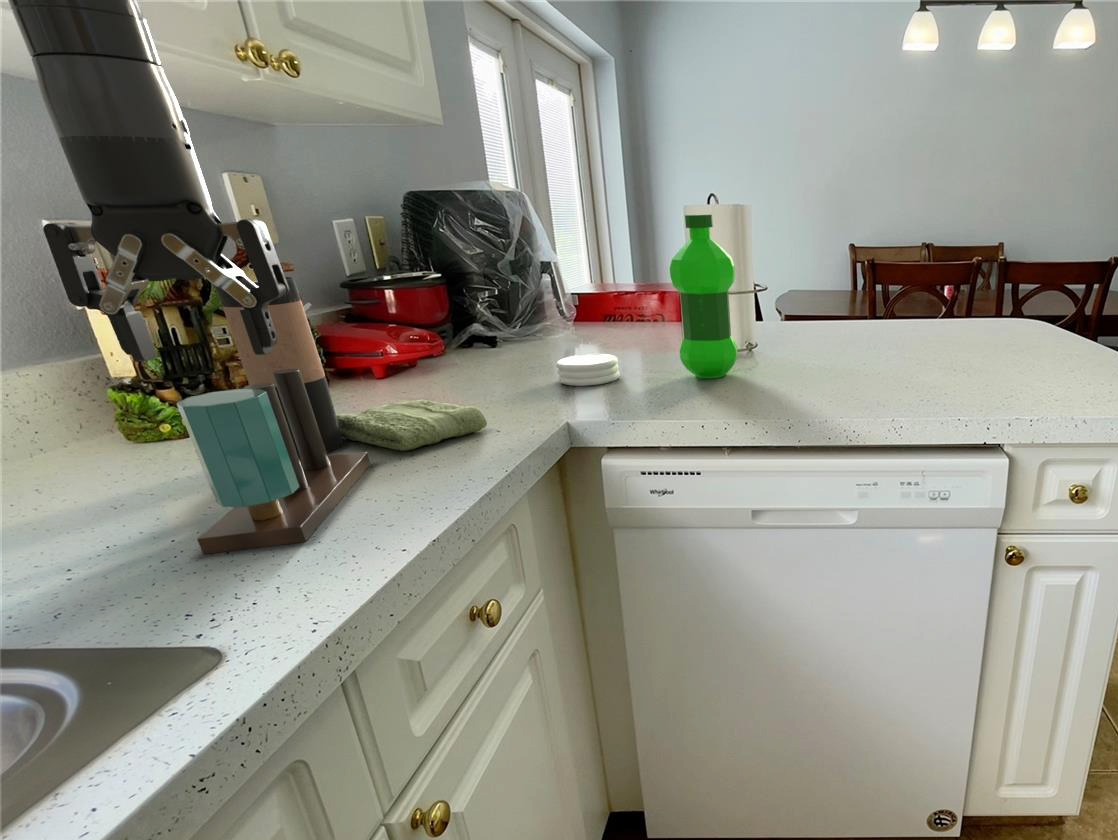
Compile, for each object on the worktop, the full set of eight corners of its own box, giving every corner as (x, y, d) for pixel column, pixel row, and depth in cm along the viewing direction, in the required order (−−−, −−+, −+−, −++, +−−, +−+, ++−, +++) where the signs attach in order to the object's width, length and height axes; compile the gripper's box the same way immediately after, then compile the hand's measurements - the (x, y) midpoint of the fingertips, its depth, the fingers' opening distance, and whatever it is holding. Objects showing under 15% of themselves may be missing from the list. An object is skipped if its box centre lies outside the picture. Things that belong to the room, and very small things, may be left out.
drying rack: (203, 554, 62) (145, 420, 57) (294, 471, 81) (257, 366, 76) (306, 542, 64) (259, 411, 59) (371, 463, 83) (340, 360, 78)
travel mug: (305, 461, 84) (245, 284, 76) (259, 456, 87) (196, 283, 78) (360, 442, 91) (310, 277, 82) (316, 437, 93) (263, 276, 85)
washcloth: (421, 412, 103) (415, 390, 102) (496, 430, 94) (491, 406, 93) (326, 436, 93) (319, 412, 92) (400, 458, 85) (393, 432, 83)
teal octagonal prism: (204, 511, 61) (162, 409, 57) (236, 486, 67) (199, 391, 63) (283, 502, 63) (247, 402, 59) (307, 479, 68) (276, 386, 64)
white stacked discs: (587, 371, 126) (584, 351, 125) (632, 375, 122) (629, 355, 121) (546, 383, 118) (542, 362, 117) (592, 389, 114) (589, 367, 113)
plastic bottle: (695, 367, 127) (682, 214, 116) (750, 370, 124) (742, 213, 113) (669, 380, 119) (652, 216, 108) (727, 383, 115) (716, 215, 105)
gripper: (-32, 130, 48) (77, 372, 55) (213, 131, 51) (286, 359, 58) (43, 139, 54) (131, 354, 61) (256, 139, 58) (317, 343, 64)
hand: (207, 356), depth 59 cm, fingers open, 8 cm apart
